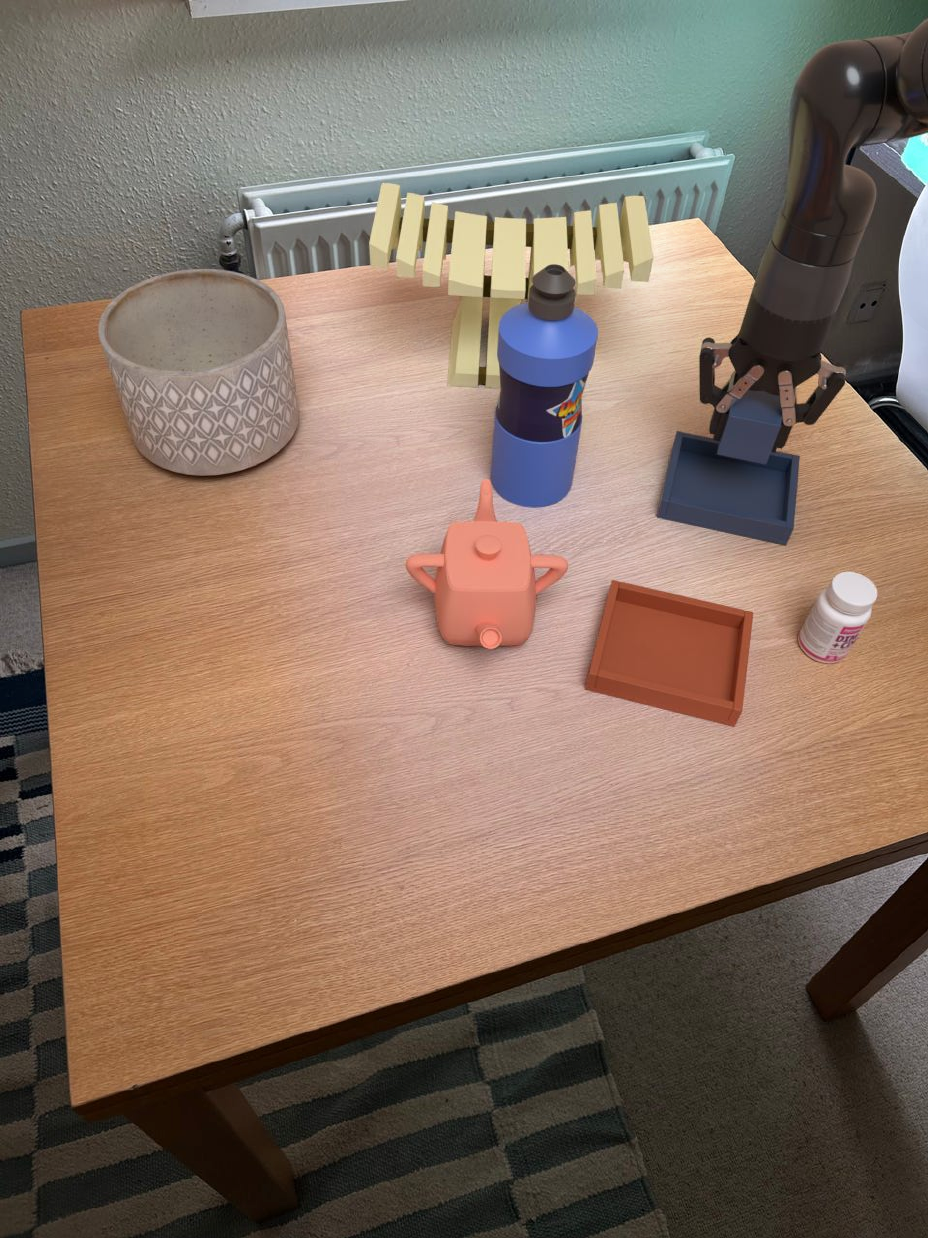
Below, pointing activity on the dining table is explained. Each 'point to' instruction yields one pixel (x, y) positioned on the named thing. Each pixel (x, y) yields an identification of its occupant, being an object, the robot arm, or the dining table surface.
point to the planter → (202, 370)
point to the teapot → (486, 579)
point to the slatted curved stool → (504, 262)
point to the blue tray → (730, 490)
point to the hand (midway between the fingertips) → (744, 440)
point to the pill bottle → (838, 617)
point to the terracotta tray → (672, 653)
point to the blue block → (751, 427)
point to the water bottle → (541, 391)
